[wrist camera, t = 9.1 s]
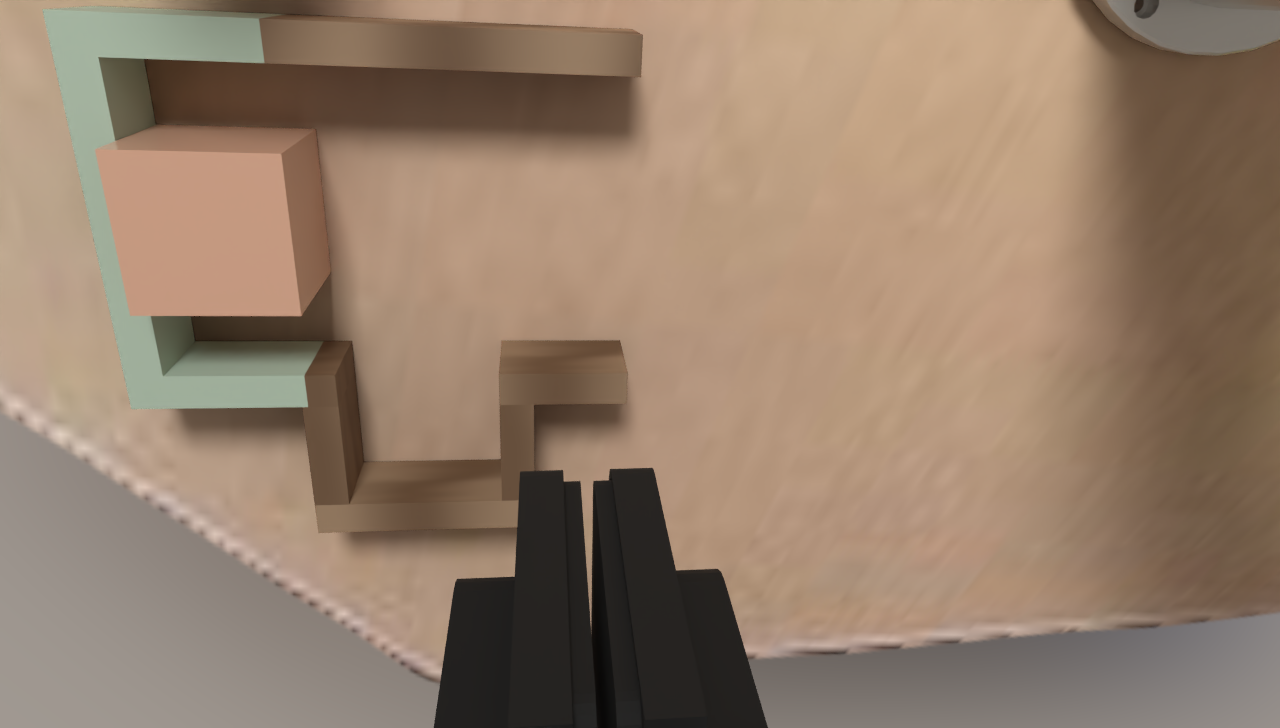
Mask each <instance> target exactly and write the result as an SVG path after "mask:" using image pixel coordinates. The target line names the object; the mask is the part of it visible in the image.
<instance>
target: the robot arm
mask: <svg viewBox="0 0 1280 728" xmlns="http://www.w3.org/2000/svg"><path fill="white" fill-rule="evenodd" d="M1093 2H1094V3H1095V4H1096V5H1097V7H1098V8H1099V9H1100V10H1101V12H1102V13H1103V14H1104V15H1105V17H1106V18H1107V19H1108V20H1109V21H1110V22H1112V23H1113V24H1114V25H1116V26H1117V27H1118V28H1119V29H1121V30H1122V31H1123V32H1125V33H1126V34H1127V35H1129V36H1130V37H1131V38H1133V39H1136V40H1138V41H1140V42H1143V43H1145V44H1147V45H1150V46H1152V47H1154V48H1157V49H1160V50H1166V51H1172V52H1178V53H1183V54H1190V55H1213V56H1222V55H1228V54H1234V53H1240V52H1246V51H1252V50H1255V49H1258V48H1260V47H1263V46H1266V45H1269V44H1271V43H1274V42H1277V41H1279V40H1280V0H1093ZM1134 4H1135V6H1134ZM434 728H768V727H767V723H766V720H765V717H764V713H763V710H762V707H761V703H760V700H759V696H758V693H757V689H756V686H755V683H754V679H753V676H752V673H751V669H750V666H749V662H748V659H747V655H746V652H745V649H744V645H743V642H742V639H741V635H740V632H739V628H738V625H737V622H736V618H735V615H734V611H733V608H732V605H731V601H730V598H729V594H728V591H727V588H726V584H725V581H724V578H723V576H722V573H721V572H720V571H719V570H718V569H705V570H679V571H676V569H675V565H674V560H673V555H672V551H671V546H670V542H669V537H668V533H667V528H666V523H665V519H664V514H663V510H662V505H661V501H660V496H659V491H658V487H657V482H656V478H655V473H654V470H653V468H634V469H610V474H609V481H594V483H593V544H592V627H591V625H590V611H589V597H588V582H587V568H586V554H585V540H584V526H583V512H582V498H581V484H580V481H572V482H564V481H563V470H556V471H520V481H519V502H518V523H517V544H516V564H515V577H497V578H471V579H457V580H456V582H455V587H454V592H453V599H452V606H451V613H450V620H449V627H448V634H447V641H446V647H445V654H444V661H443V668H442V675H441V682H440V690H439V696H438V703H437V709H436V717H435V724H434Z"/></svg>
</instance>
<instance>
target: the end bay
mask: <svg viewBox="0 0 1280 728" xmlns="http://www.w3.org/2000/svg"><path fill="white" fill-rule="evenodd" d="M42 10H43V14H44V19H45V23H46V28H47V32H48V37H49V41H50V46H51V50H52V55H53V59H54V64H55V68H56V73H57V77H58V82H59V86H60V91H61V95H62V100H63V104H64V109H65V113H66V117H67V122H68V126H69V131H70V135H71V140H72V144H73V149H74V153H75V158H76V162H77V167H78V171H79V176H80V180H81V185H82V189H83V194H84V198H85V203H86V207H87V212H88V216H89V221H90V225H91V230H92V234H93V239H94V243H95V248H96V252H97V257H98V261H99V266H100V270H101V275H102V279H103V284H104V288H105V293H106V297H107V301H108V306H109V310H110V315H111V319H112V324H113V328H114V333H115V337H116V342H117V346H118V351H119V355H120V360H121V364H122V369H123V373H124V378H125V382H126V387H127V391H128V396H129V400H130V405H131V409H187V408H278V407H308V401H307V393H306V386H305V378H304V375H305V373H306V372H307V370H308V368H309V366H310V365H311V363H312V361H313V359H314V357H315V356H316V354H317V352H318V350H319V349H320V347H321V345H322V343H323V342H324V341H195V337H194V332H193V326H192V321H191V316H130V313H129V308H128V303H127V299H126V294H125V289H124V285H123V280H122V275H121V270H120V266H119V261H118V256H117V252H116V247H115V242H114V237H113V233H112V228H111V223H110V219H109V214H108V209H107V204H106V200H105V195H104V190H103V185H102V181H101V176H100V171H99V167H98V162H97V157H96V152H95V149H97V148H99V147H102V146H104V145H107V144H109V143H112V142H114V141H117V140H119V139H122V138H124V137H127V136H129V135H132V134H134V133H137V132H139V131H142V130H144V129H147V128H149V127H152V126H154V125H156V123H155V117H154V112H153V106H152V101H151V95H150V90H149V84H148V79H147V73H146V68H145V62H144V59H163V60H190V61H217V62H244V63H264V55H263V47H262V39H261V32H260V24H259V19H260V18H266V17H272V16H279V15H285V14H268V13H245V12H222V11H200V10H177V9H154V8H131V7H108V6H84V7H69V8H55V9H42Z"/></svg>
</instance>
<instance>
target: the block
mask: <svg viewBox="0 0 1280 728" xmlns="http://www.w3.org/2000/svg"><path fill="white" fill-rule="evenodd" d="M95 152H96V157H97V162H98V167H99V171H100V176H101V181H102V185H103V190H104V195H105V200H106V204H107V209H108V214H109V219H110V223H111V228H112V233H113V237H114V242H115V247H116V252H117V256H118V261H119V266H120V270H121V275H122V280H123V285H124V289H125V294H126V299H127V303H128V308H129V313H130V316H302V314H303V313H304V311H305V310H306V308H307V307H308V305H309V304H310V302H311V301H312V299H313V298H314V297H315V295H316V294H317V292H318V291H319V289H320V288H321V286H322V285H323V283H324V282H325V280H326V279H327V277H328V276H329V274H330V273H331V266H330V257H329V248H328V238H327V229H326V219H325V210H324V201H323V191H322V182H321V172H320V163H319V153H318V144H317V135H316V129H300V128H265V127H229V126H194V125H159V124H157V125H154V126H152V127H149V128H147V129H144V130H142V131H139V132H137V133H134V134H132V135H129V136H127V137H124V138H122V139H119V140H117V141H114V142H112V143H109V144H107V145H104V146H102V147H99V148H97V149H95Z"/></svg>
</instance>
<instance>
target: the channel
mask: <svg viewBox="0 0 1280 728" xmlns="http://www.w3.org/2000/svg"><path fill="white" fill-rule="evenodd" d="M259 24H260V32H261V39H262V47H263V55H264V63H272V64H299V65H326V66H353V67H381V68H408V69H435V70H462V71H490V72H517V73H544V74H571V75H598V76H626V77H641V65H642V43H643V35H642V34H640V33H638V32H636V31H634V30H632V29H612V28H589V27H566V26H543V25H520V24H497V23H474V22H452V21H429V20H406V19H383V18H360V17H337V16H314V15H291V14H285V15H279V16H272V17H266V18H260V19H259ZM304 378H305V386H306V393H307V401H308V407H302V410H303V417H304V425H305V433H306V440H307V448H308V456H309V463H310V471H311V479H312V486H313V494H314V502H315V509H316V517H317V525H318V532H319V533H332V532H367V531H402V530H437V529H472V528H507V527H517V523H518V502H519V481H520V471H534V405H551V404H626V402H627V379H628V372H627V368H626V364H625V360H624V356H623V352H622V347H621V343H620V341H502V344H501V356H500V368H499V396H500V438H501V460H448V461H394V462H364V458H363V448H362V438H361V428H360V418H359V408H358V398H357V388H356V378H355V368H354V358H353V348H352V341H324V342H323V343H322V345H321V347H320V349H319V350H318V352H317V354H316V356H315V357H314V359H313V361H312V363H311V365H310V366H309V368H308V370H307V372H306V373H305V375H304Z"/></svg>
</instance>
